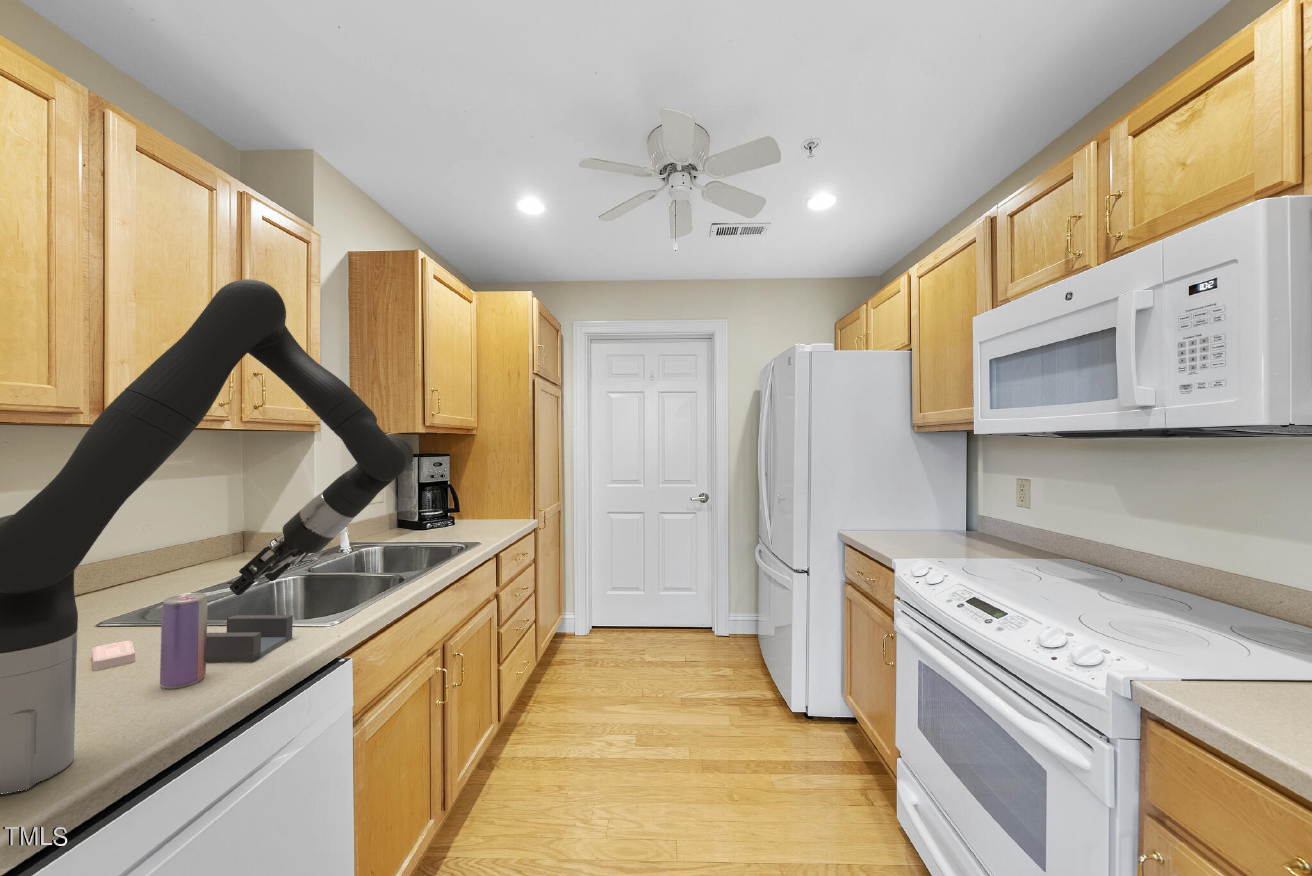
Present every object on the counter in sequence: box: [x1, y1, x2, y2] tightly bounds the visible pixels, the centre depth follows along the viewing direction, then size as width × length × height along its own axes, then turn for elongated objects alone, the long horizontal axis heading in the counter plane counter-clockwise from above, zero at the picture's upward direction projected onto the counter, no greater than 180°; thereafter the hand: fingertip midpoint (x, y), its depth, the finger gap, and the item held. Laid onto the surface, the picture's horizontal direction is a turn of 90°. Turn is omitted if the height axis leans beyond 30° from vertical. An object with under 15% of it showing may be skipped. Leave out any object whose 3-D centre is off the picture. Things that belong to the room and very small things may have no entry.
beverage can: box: [159, 592, 208, 690], centre depth 91 cm, size 6×6×15 cm
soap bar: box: [91, 640, 136, 672], centre depth 99 cm, size 5×9×2 cm, turn 49°
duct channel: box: [206, 614, 294, 664], centre depth 105 cm, size 12×12×5 cm
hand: (252, 584), depth 92 cm, fingers open, 8 cm apart
